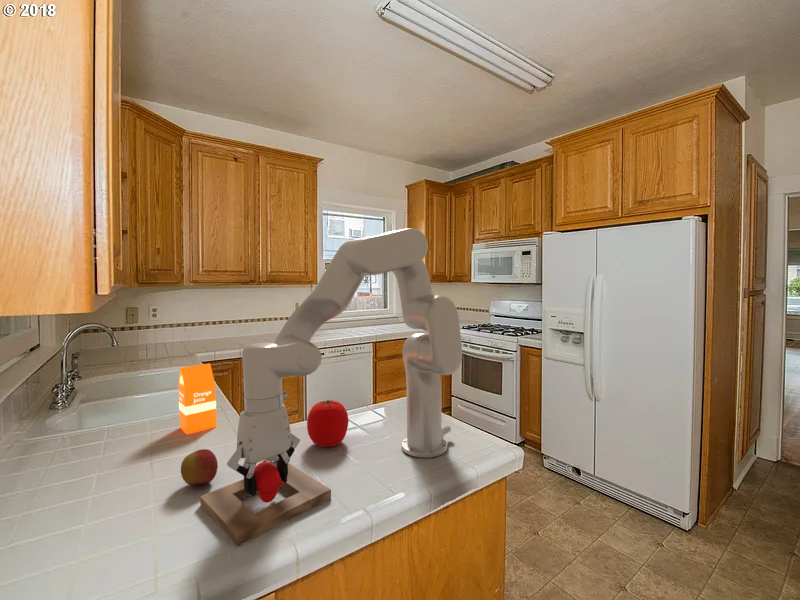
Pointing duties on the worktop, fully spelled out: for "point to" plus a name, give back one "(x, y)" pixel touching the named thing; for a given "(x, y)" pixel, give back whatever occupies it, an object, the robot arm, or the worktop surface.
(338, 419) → the tomato
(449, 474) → the worktop surface
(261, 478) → the red rounded piece
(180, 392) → the orange juice
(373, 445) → the worktop surface
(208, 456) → the apple
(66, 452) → the worktop surface
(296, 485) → the walnut board
